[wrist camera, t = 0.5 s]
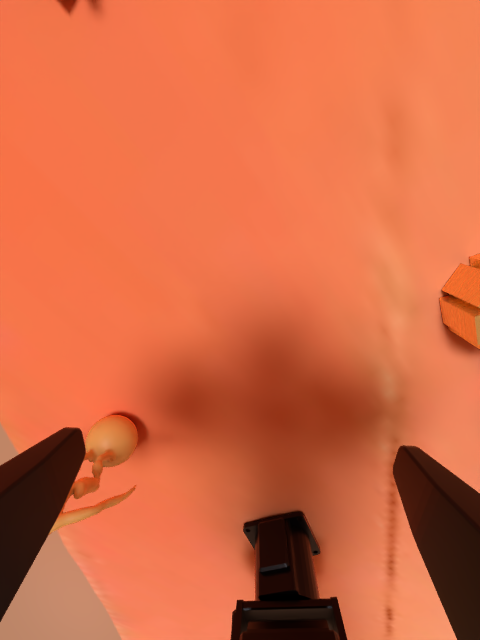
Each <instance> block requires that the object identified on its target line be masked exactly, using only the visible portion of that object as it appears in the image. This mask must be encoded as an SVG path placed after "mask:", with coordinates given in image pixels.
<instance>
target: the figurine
mask: <svg viewBox="0 0 480 640" xmlns="http://www.w3.org/2000/svg"><path fill="white" fill-rule="evenodd" d="M137 442H138V432H137V429H136V426H135V425H134V423H133V422H132V421H131V420H130V419H128V418H127V417H124V416H121V415H111V416H107V417H104V418H102V419H100V420H99V421H98V422H96V423H95V424H94V425H93V426H92V428H91V429H90V431H89V432H88V435H87V437H86V442H85V448H86V452H87V453H86V454H85V458H84V460H87V459H88V460H89V461H90V462H93V463H94V464H93V466H92V473H93V476H94V478H93V477H92V478H88V477H84V478H81V479H79V480H78V481H76V482H74V483H73V485H72V488H71V490H70V492H69V494H68V497H67V499H66V501H65V503H66V502H67V500H68V499H69V497H70V496H71V495H73V494H74V498H75V499H79V498H81V497H82V496H84V495H86V494H88V493H91V492H95V491H96V490H97V489H98V488H99V482H100V475H101V473H102V470H103V467H113V466H117V465H119V464H121V463H123V462H125V461H126V460H127V459H128V458H129V457H130V456H131V455H132V454H133V452H134V450H135V448H136V446H137ZM84 460H83V461H84ZM80 468H81V467H80ZM79 470H80V469H79ZM75 479H76V478H75ZM135 487H136V485H135V486H134V487H133V488H132V489H131V490H129V491H128V492H126V493H124V494H122V495H118V496H114V497H112V498H109V499H107V500H104V501H102V502H100V503H98V504H97V505H95V506H90V507H84V508H80V509H76V510H72V511H69V512H65V513H63V510H64V507H65V503H64V506H63V508H62V510H61V512H60V514H59V516H58V518H57V520H56V522H55V524H54V526H53V527H52V529H51V531H50V533H49V534H51V533H52V532H53V531H55V530H57V529H59V528H61V527H63V526H66V525H69V524H72V523H76V522H79V521H81V520H84V519H86V518H89V517H91V516H93V515H96V514H98V513H99V512H101V511H102V510H104V509H106V508H109V507H112V506H114V505H116V504H118V503H120V502H121V501H123V500H124V499H126V498H127V497H128V496H129V495H130V494H131V493H132V492H133V491H134V490H135Z"/></svg>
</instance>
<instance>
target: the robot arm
mask: <svg viewBox="0 0 480 640" xmlns="http://www.w3.org/2000/svg"><path fill="white" fill-rule="evenodd" d="M85 454H86V448H85V444H84V439H83V435H82V431H81V430H80V428H72V427H66V428H63V429H61V430H59V431H58V432H56V433H54V434H53V435H51V436H49V437H48V438H46V439H44V440H43V441H41V442H39V443H38V444H36V445H34V446H33V447H31V448H29V449H27V450H26V451H24V452H22V453H21V454H19V455H17V456H16V457H14V458H12V459H11V460H9V461H7V462H6V463H4V464H3V465H1V466H0V622H1V620H2V618H3V616H4V614H5V612H6V610H7V609H8V607H9V605H10V603H11V601H12V600H13V598H14V596H15V594H16V593H17V591H18V589H19V587H20V585H21V584H22V582H23V580H24V578H25V576H26V574H27V573H28V571H29V569H30V567H31V565H32V564H33V562H34V560H35V558H36V556H37V555H38V553H39V551H40V549H41V547H42V545H43V544H44V542H45V540H46V538H47V536H48V535H49V533H50V531H51V529H52V527H53V526H54V524H55V522H56V520H57V518H58V516H59V514H60V512H61V510H62V508H63V506H64V503H65V501H66V499H67V497H68V494H69V492H70V490H71V488H72V485H73V483H74V481H75V478H76V476H77V474H78V472H79V469H80V467H81V465H82V463H83V460H84V458H85ZM393 475H394V479H395V482H396V485H397V488H398V491H399V494H400V497H401V500H402V503H403V507H404V510H405V513H406V516H407V519H408V522H409V525H410V528H411V531H412V534H413V537H414V539H415V542H416V544H417V547H418V549H419V551H420V554H421V556H422V558H423V561H424V563H425V565H426V568H427V570H428V572H429V575H430V577H431V579H432V582H433V584H434V586H435V589H436V591H437V593H438V596H439V598H440V600H441V603H442V605H443V607H444V610H445V612H446V615H447V617H448V619H449V622H450V624H451V626H452V629H453V631H454V633H455V636H456V638H457V640H480V493H478V492H477V491H476V490H474V489H473V488H472V487H470V486H469V485H468V484H466V483H465V482H464V481H462V480H461V479H460V478H458V477H457V476H456V475H454V474H453V473H452V472H450V471H449V470H448V469H446V468H445V467H444V466H442V465H441V464H440V463H438V462H437V461H436V460H434V459H433V458H432V457H430V456H429V455H428V454H426V453H425V452H424V451H422V450H421V449H420V448H418V447H416V446H405V445H403V446H400V447H399V449H398V452H397V455H396V459H395V462H394V465H393ZM243 531H244V533H245V535H246V536H247V538H248V540H249V541H250V543H251V545H252V546H253V548H254V550H255V601H243V600H237V605H236V610H234V611H233V613H232V632H231V640H347V637H346V633H345V629H344V625H343V620H342V616H341V612H340V608H339V604H338V600H337V597H330V599H320V597H319V591H318V585H317V579H316V573H315V567H314V561H313V556H314V555H318V554H320V548H319V545H318V543H317V541H316V539H315V537H314V535H313V533H312V530H311V528H310V526H309V524H308V522H307V520H306V518H305V516H304V514H303V513H302V512H296V513H291V514H287V515H282V516H278V517H273V518H269V519H264V520H260V521H255V522H251V523H246V524H244V526H243Z"/></svg>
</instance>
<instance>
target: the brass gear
mask: <svg viewBox="0 0 480 640" xmlns="http://www.w3.org/2000/svg"><path fill="white" fill-rule="evenodd" d="M469 258H470V266H467V265H464V264H460V265H459V267H458V268H457V269H456V271H455V272H454V274H453V275H452V276H451V278H450V279H449V280H448V282H447V283H446V285H445V286H444V287H443V289H442V290H443V291H445V292H447V293H449V294H451V295H448V296H445V297H442V298H439V300H440V306H441V313H442V319H443V323H444V324H446V325H447V326H449V327H448V329H449V330H451V331H452V332H454V333H455V334H457V335H458V336H460V337H461V338H463V339H465V340H466V341H468V342H469V343H471V344H472V345H474V346H475V347H477V348H478V349H480V254H477V255H474V256H471V257H469Z"/></svg>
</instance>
